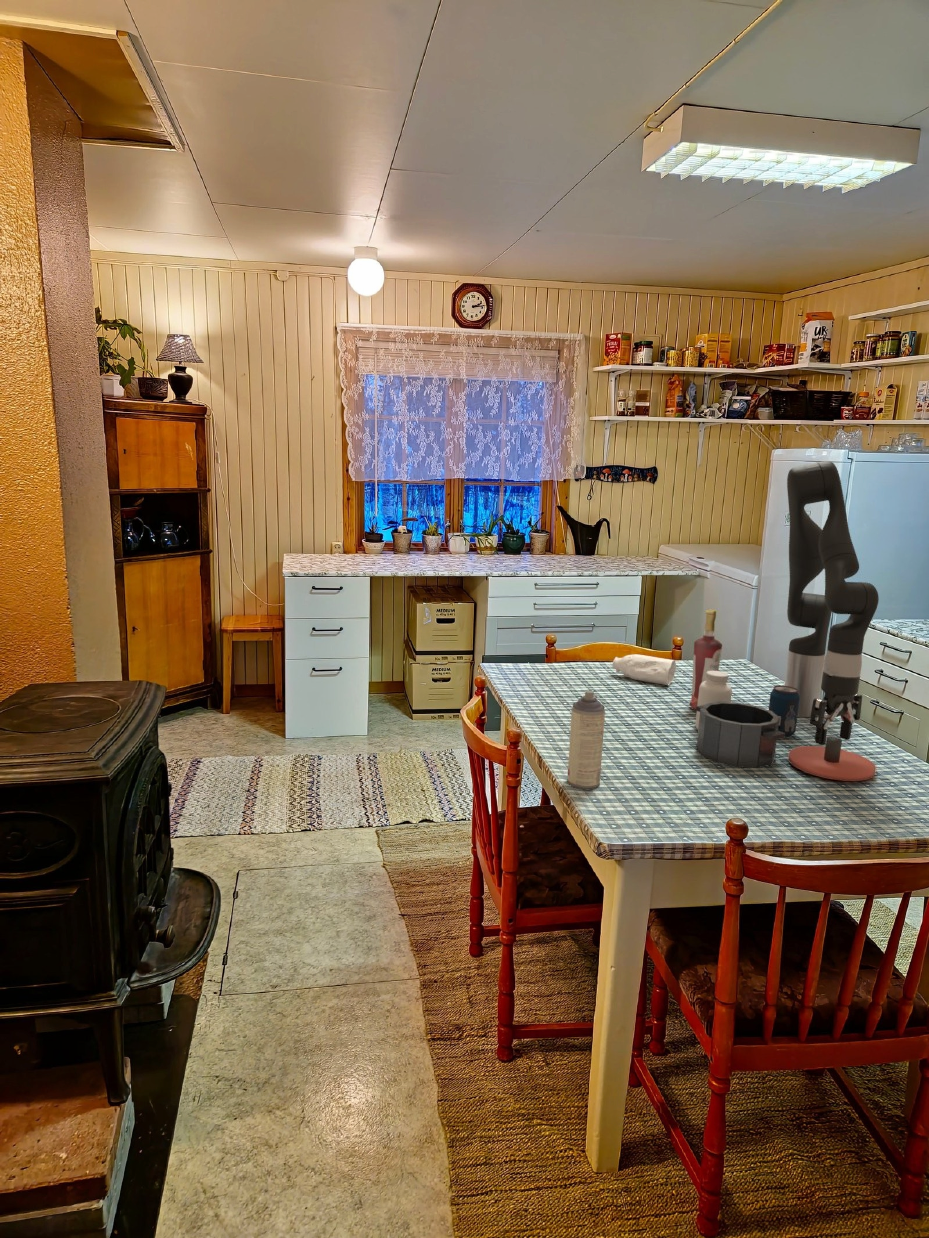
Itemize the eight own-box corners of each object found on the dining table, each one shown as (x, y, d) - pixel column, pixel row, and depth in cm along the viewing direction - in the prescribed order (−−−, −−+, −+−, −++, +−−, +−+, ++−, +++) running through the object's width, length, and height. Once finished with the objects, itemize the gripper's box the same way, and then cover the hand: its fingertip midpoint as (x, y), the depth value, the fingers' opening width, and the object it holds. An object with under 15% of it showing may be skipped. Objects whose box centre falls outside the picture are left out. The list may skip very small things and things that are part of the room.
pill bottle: (729, 736, 202) (735, 678, 199) (696, 733, 204) (701, 675, 201) (725, 726, 210) (731, 670, 207) (693, 723, 211) (699, 667, 208)
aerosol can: (595, 776, 174) (601, 687, 170) (603, 789, 167) (610, 696, 163) (563, 776, 173) (569, 686, 169) (571, 789, 166) (577, 696, 162)
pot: (723, 733, 204) (727, 695, 202) (800, 764, 185) (805, 723, 183) (673, 743, 196) (677, 703, 194) (748, 777, 176) (753, 733, 174)
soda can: (773, 727, 210) (778, 683, 208) (799, 734, 205) (805, 689, 203) (761, 733, 205) (766, 687, 203) (787, 740, 200) (793, 694, 198)
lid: (821, 750, 195) (825, 721, 194) (891, 776, 180) (896, 746, 178) (770, 762, 186) (774, 732, 185) (840, 791, 171) (844, 758, 169)
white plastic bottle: (618, 672, 259) (620, 648, 257) (675, 682, 249) (678, 657, 248) (608, 678, 252) (610, 653, 251) (667, 688, 243) (669, 662, 241)
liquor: (705, 715, 218) (715, 614, 212) (682, 709, 223) (691, 609, 217) (720, 711, 222) (730, 611, 217) (697, 704, 228) (706, 606, 222)
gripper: (847, 664, 185) (837, 732, 188) (805, 670, 178) (797, 740, 181) (877, 672, 179) (867, 742, 182) (835, 678, 172) (826, 751, 175)
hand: (832, 741), depth 181 cm, fingers open, 8 cm apart
